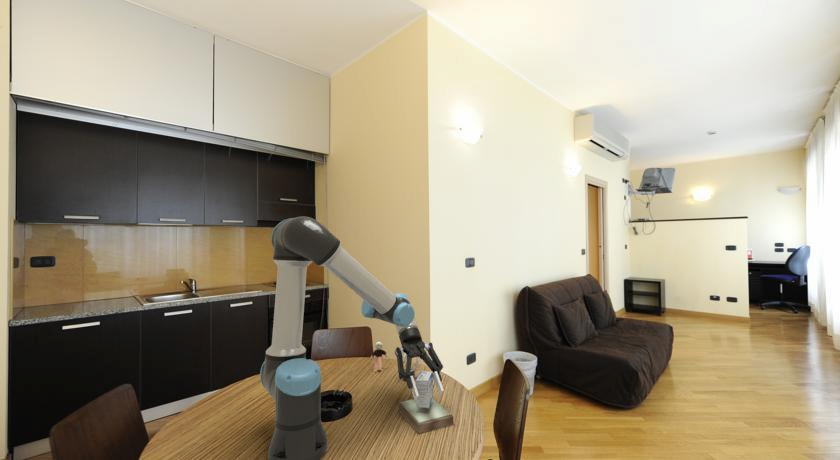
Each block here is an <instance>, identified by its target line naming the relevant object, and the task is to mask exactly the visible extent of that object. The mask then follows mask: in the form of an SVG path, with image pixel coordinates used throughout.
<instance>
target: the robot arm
mask: <svg viewBox="0 0 840 460" xmlns="http://www.w3.org/2000/svg"><path fill="white" fill-rule="evenodd" d="M270 236H271V237H270V240H271V244H272V248H273V256H272V257H273V258H272V262H274V263H275V265H276V266H277V272H276V273H277V274H276V287H275V288H276V289H275V298H274V301H275V302H274V311H273V312H274V313H273V324H272V326H273V327H272V335H271V336H272V337H271V345H270V346H269V347H268V348H267V349H266V350H265V354H264V355H265V358H264V361H263V363H262V365H261V368H260V374H259V375H260V382H261V384H262V386H263V388H264V389H265V390H266V391H267V392H268V393H269V395H270V397H271V398H272V399H273V400H274V402H275V403H274V404H275V405H274V406H275V413H274V414H275V417H274V418H275V423H274V424H275V426H274V431H273V434H272V436H271V437H272V438H271V440H270V443H269V447H268V451H267V460H320V459H322V458H323V457H324V456H325V454H327V451H328V436H327V434H326V431H325V428H324V426H323V421H322V420H321V419H322V418H321V417H322V415H321V414H322V411H321V409H322V407H321V406H322V403H321V401H322V387H321V386H322V373H321V367H320V365H319V363H317V361H315V360H313V359H310V358H309V359H307V357H306V356H307V348H306V347H305V346H304V345H303V344H302V340H303V325H304V313H305V302H306V301H305V299H306V286H307V285H306V284H307V271H308V269H307V268H308V267H309V266H310V265H311V264H312V263H314V264H315V265H316V266H318V267H324V268H325V269H327V270H328V271H329V272H330V273H332V275H334V276H335V277H336V278H337V279H338V280H340V281H341V283H343V284H345V285H346V286H347V287H348V288H349V289H350V290H352V291H353V293H355V294H356V295H358V296H359V297H360V298H362V303H361V307H360V309H361V310H360V311H361V314H362V316H363V317H364V318H368V319H377V320H381V321H384V322H387V323H389V324H392V325H395V328H396V331H397V334H398V337H399V341H400V342H399V343H400V345H401V347H398V346H396V348H395V350H394V354H395V357H396V363H397V370H398V371H397V373H398V378H399V379H400V380H403V379H404V380H405V381H406V382H405V383H406V386H407V388H408V390H411V393H412V397H413V399H414V400H417V398H418V396H419V394H418V391H417V388H416V385H415V378H413V376H410V372H411V369H412V361H413V359H414V358H416V357H418V358H420V360H422V361H423V362H424V363H425V364H426V366H427V367H428V369H430V372H433V383H434V384H435V387H436V390H437V393H438V395H442V394H443V393H444V390H445V389H444V387H443V385H442V381H443V378H442V376H441V371H442V370H443V368H444V365H443V363H442V361H441V360H440V358H439V356H438V355H437V353H436V351H435V348H434V347H433V342H429V343H425V342H424V341H423V338H422V334H421V331H420V329H419V327H418V324H417V321H416V317H415V309H414V307H413V306H412V305H411V302H410V300H409V299H408V297H407V295H406V294H405V293H403V292H398V293H393V292H392V291H390V290H389V289H388V287H386V286H385V285H384V284H383V283H382V282H381V281H379V279H377V278H376V277H375V276H374V274H372V273H370V272H369V270H368V269H366V268H365V267H364V266H363V265H362V264H361V263H360V262H358V260H357V259H355V258H354V257H353V256H352V255H351V254H350V253H349V252H348V251H346V250H345V249H344V247H342V241H340V239H339V238H338V237H336V236H335V235H334V234H333V233H332V232H331V231H330V230H329V229H328V228H326V227H325V226H324V225H323V224H322V223H321V222H320V221H319V220H318V221H317V220H316V219H314V218H312V217H310V216H296V217H292V218H290V217H289V218H286V219H283V220H282V221H280V222H279V223H278V224H277V225H276V226H275V227H274V228H273V230H272V232H271V235H270ZM427 352H428V353H427ZM404 353H405V354H407V357H406V361H405V367H404V363H403V357H402V356H403V354H404ZM404 368H405V369H406V370H405V373H404Z"/></svg>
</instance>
